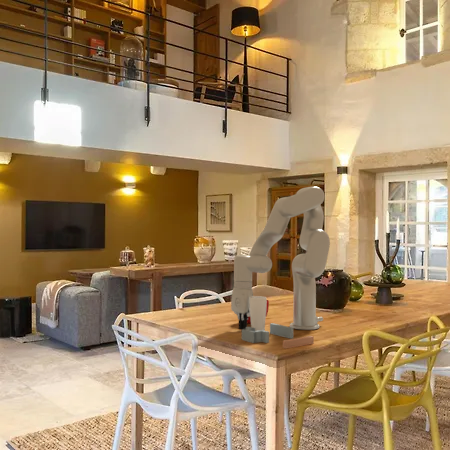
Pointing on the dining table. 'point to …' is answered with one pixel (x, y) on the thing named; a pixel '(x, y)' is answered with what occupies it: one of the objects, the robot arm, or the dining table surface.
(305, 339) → the channel
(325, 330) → the dining table surface
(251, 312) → the drinking glass
